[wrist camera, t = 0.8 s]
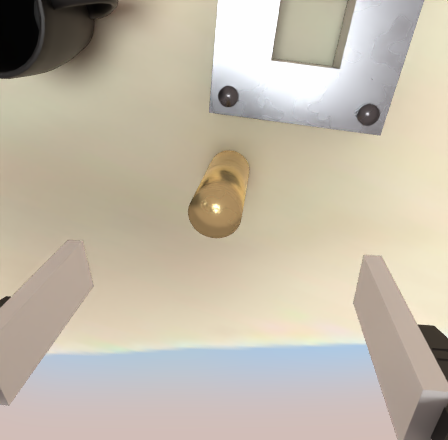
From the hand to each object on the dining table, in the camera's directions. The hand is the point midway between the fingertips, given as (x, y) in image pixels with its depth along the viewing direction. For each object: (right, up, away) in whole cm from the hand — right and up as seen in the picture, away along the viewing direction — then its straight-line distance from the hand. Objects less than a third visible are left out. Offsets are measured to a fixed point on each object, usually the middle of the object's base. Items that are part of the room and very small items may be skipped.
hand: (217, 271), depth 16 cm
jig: (+7, +18, +11) cm, 22 cm away
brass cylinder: (+1, +7, +18) cm, 19 cm away
